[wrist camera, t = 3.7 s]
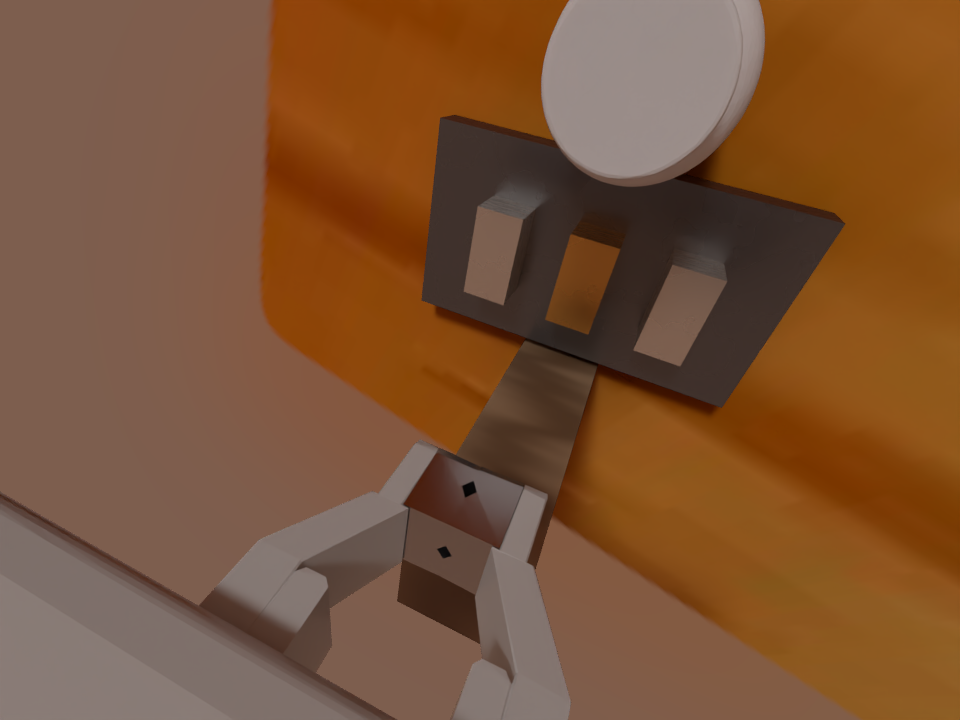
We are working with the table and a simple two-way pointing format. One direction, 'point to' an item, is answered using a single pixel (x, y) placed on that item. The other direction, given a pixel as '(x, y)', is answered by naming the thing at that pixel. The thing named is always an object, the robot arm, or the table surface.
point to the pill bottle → (649, 83)
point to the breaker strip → (653, 227)
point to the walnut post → (513, 460)
